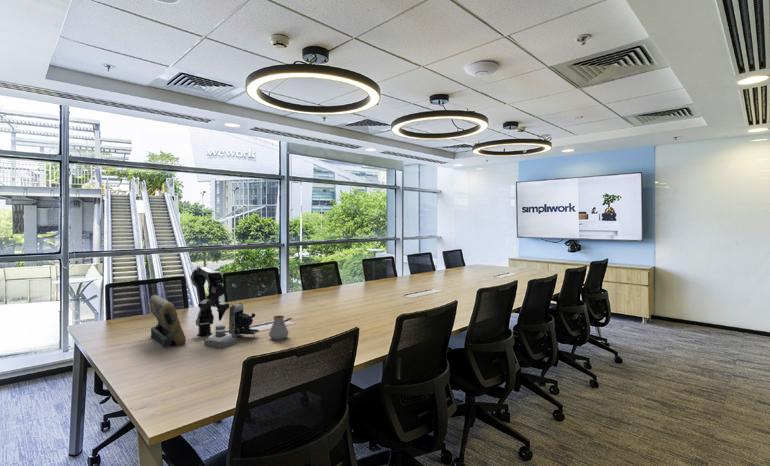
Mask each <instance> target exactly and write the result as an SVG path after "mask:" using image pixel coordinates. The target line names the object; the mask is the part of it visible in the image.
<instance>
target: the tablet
mask: <svg viewBox="0 0 770 466" xmlns="http://www.w3.org/2000/svg"><path fill="white" fill-rule="evenodd" d="M149 304H150V305H149V307H150V309H151V313H152V315H153V316H154V317H155V318H156V320H157V324H156V325H155V326H153V327H151V328H150V337H151V338H152V339H154V341H156V343H158V344H159V345H160V346H161V347H163V348H170V347H171V345H172V344H171V342H172V341H173V342H174V344H175V345H177V346H179V347H180V346H184V345H186V340H187V339H186V335H185V333H184V330H183V327H182V325H181V321H180V319H179V318H178V312H177V310H176V308H175V305H174V303H172V302H170V301H168V300H167V299H165V298H162V297H161V296H159V295H158V294H152V295H151V297H150V298H149Z"/></svg>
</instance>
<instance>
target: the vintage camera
mask: <svg viewBox="0 0 770 466" xmlns="http://www.w3.org/2000/svg"><path fill="white" fill-rule="evenodd" d="M228 313H229V317H228V318H229V319H228V334H232V337H233V338H237V337H239V336H240V335H241V336H242V335H251V336H252V335H253V338H254V339H255V338H256V336H255V334H256V333H258V332H260V331H261V330H259V329H255V328H254V329H253V328H250V326H251V325H252V324H253V322H254V319H253V318H255V317H256V313H254V312H253V313H251V315H250V314H247V313H244V304H243V303H242V302H238V303H237V304H235V305H233V304H232V305H231V306H229V312H228Z"/></svg>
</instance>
